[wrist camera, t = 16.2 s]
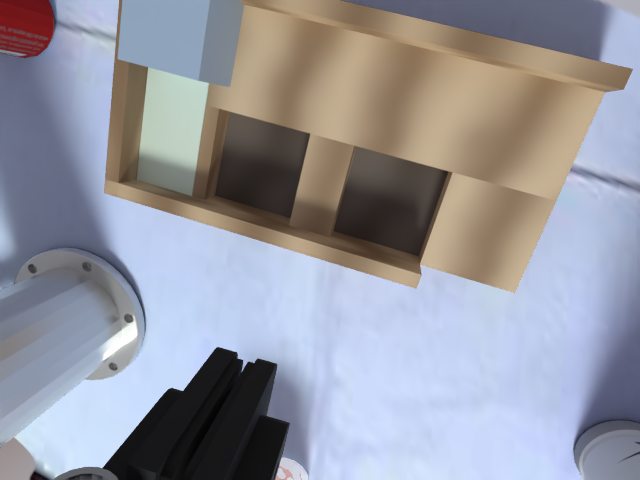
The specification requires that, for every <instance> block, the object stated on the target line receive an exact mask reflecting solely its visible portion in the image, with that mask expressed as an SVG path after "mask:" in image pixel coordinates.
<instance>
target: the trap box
mask: <svg viewBox="0 0 640 480" xmlns="http://www.w3.org/2000/svg"><path fill="white" fill-rule="evenodd" d="M239 1H240V2H241V3H243V4H244V9H243V15H242V21H241V26H240V32H239V38H238V44H237V50H236V56H235V62H234V68H233V74H232V80H231V86H230V88H229V87H225V86H220V85H216V84H211V83H209V85H208V87H209V89H208V94H207V102H206V107H205V108H206V110H205V112H204V115H205V116H204V120H203V121H204V122H203V126H202V127H203V128H202V135H201V138H200V139H201V141H200V146H199V148H200V149H199V153H198V158H197V161H198V162H197V165H196V166H197V167H196V168H197V169H196V172H195V173H196V174H195V175H196V176H195V178H194V180H195V181H194V185H193V187H194V188H193V191H192V194H193V195H192V196H190V195H186V194H183V193H180V192H176V191H173V190H170V189H166V188H163V187H160V186H156V185H153V184H150V183H146V182H143V181H140V180H136V179H137V170H138V160H139V150H140V141H141V131H142V122H143V112H144V102H145V93H146V83H147V74H148V67H145V66H142V65H138V64H134V63H130V62H127V61H123V60H119V59H118V47H119V35H120V23H121V11H122V0H119V11H118V24H117V36H116V49H115V62H114V74H113V87H112V100H111V112H110V125H109V137H108V150H107V163H106V175H105V188H104V193H106V194H109V195H112V196H116V197H119V198H122V199H126V200H129V201H132V202H135V203H139V204H142V205H145V206H148V207H152V208H155V209H158V210H161V211H165V212H168V213H171V214H175V215H178V216H181V217H184V218H188V219H191V220H194V221H197V222H201V223H204V224H207V225H210V226H214V227H217V228H220V229H224V230H227V231H230V232H233V233H237V234H240V235H243V236H246V237H250V238H253V239H256V240H259V241H263V242H266V243H269V244H272V245H276V246H279V247H282V248H286V249H289V250H292V251H295V252H299V253H302V254H305V255H308V256H312V257H315V258H318V259H321V260H325V261H328V262H331V263H335V264H338V265H341V266H344V267H348V268H351V269H354V270H357V271H361V272H364V273H367V274H370V275H374V276H377V277H380V278H384V279H387V280H390V281H393V282H397V283H400V284H403V285H406V286H410V287H413V288H417V286H418V283H419V280H420V277H421V269H420V265H423V266H427V267H430V268H433V269H437V270H440V271H443V272H447V273H450V274H453V275H457V276H460V277H463V278H467V279H470V280H473V281H477V282H480V283H483V284H487V285H490V286H493V287H497V288H500V289H503V290H507V291H510V292H513V293H515V291H516V289H517V287H518V285H519V283H520V280H521V278H522V276H523V274H524V271H525V269H526V267H527V265H528V262H529V260H530V258H531V256H532V254H533V251H534V249H535V247H536V245H537V242H538V240H539V238H540V236H541V234H542V231H543V229H544V227H545V225H546V222H547V220H548V218H549V216H550V214H551V211H552V209H553V207H554V205H555V202H556V200H557V198H558V196H559V193H560V191H561V189H562V187H563V185H564V182H565V180H566V178H567V176H568V173H569V171H570V169H571V167H572V165H573V162H574V160H575V158H576V156H577V153H578V151H579V149H580V147H581V145H582V142H583V140H584V138H585V136H586V133H587V131H588V129H589V127H590V124H591V122H592V120H593V118H594V116H595V113H596V111H597V109H598V107H599V104H600V102H601V100H602V98H603V96H604V93H605V92H610V91H616V90H623V89H624V87H625V85H626V83H627V81H628V79H629V77H630V75H631V72H632V70H633V69H630V68H626V67H622V66H617V65H613V64H609V63H605V62H600V61H596V60H592V59H588V58H583V57H579V56H575V55H571V54H566V53H562V52H558V51H554V50H549V49H545V48H541V47H537V46H533V45H528V44H524V43H520V42H516V41H511V40H507V39H503V38H499V37H494V36H490V35H486V34H482V33H477V32H473V31H469V30H465V29H460V28H456V27H452V26H448V25H443V24H439V23H435V22H431V21H426V20H422V19H418V18H414V17H409V16H405V15H401V14H397V13H392V12H388V11H384V10H380V9H376V8H371V7H367V6H363V5H359V4H354V3H350V2H346V1H342V0H239Z"/></svg>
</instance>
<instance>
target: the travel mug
mask: <svg viewBox="0 0 640 480" xmlns="http://www.w3.org/2000/svg"><path fill="white" fill-rule="evenodd" d="M574 460H575V463H576V466H577V468H578V470H579V472H580V474H581V476H582V478H583V480H640V423H636V422H632V421H625V420H614V421H608V422H603V423H600V424H598V425H595V426H593V427H592V428H590V429H588V430H587V431H586V432H585V433H583V434H582V435H581V437H580V438H579V440H578V441H577V443H576V446H575V449H574Z"/></svg>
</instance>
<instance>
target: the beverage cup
mask: <svg viewBox="0 0 640 480" xmlns="http://www.w3.org/2000/svg"><path fill="white" fill-rule="evenodd" d="M275 480H309V478H308V474H307V472H306V471H305V469H304V468H303V467H302V466H301V465H300V464H298V463H297V462H296V461H294V460H291V459H288V458H281V461H280V465H279V468H278V472H277V476H276V479H275Z"/></svg>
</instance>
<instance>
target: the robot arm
mask: <svg viewBox="0 0 640 480" xmlns="http://www.w3.org/2000/svg"><path fill="white" fill-rule="evenodd" d="M144 334H145V323H144V317H143V312H142V308H141V306H140V303H139V300H138V298H137V296H136V294H135V292H134V291H133V289H132V287H131V286H130V284H129V283H128V282H127V280H126V279H125V278H124V277H123V275H122V274H121V273H120V272H118V271H117V270H116V269H115V268H114V267H113V266H112V265H111V264H109V263H108V262H106V261H105V260H103V259H102V258H100V257H98V256H96V255H94V254H92V253H90V252H88V251H84V250H80V249H76V248H57V249H51V250H48V251H46V252H43V253H40V254H38V255H36V256H34V257H32V258H31V259H29V260H28V261H27V262H26V263H25V264H24V265H23V266H22V267H21V269H20V271H19V272H18V274H17V276H16V279H15V282H14V285H11V286H9V287H6V288H4V289H2V290H0V448H1V447H2V446H3V445H4V444H6V443H7V442H8V441H9V440H11V439H12V438H13V437H14V436H16V435H17V434H18V433H19V432H21V431H22V430H23V429H24V428H25V427H27V426H28V425H29V424H30V423H32V422H33V421H34V420H35V419H36V418H38V417H39V416H40V415H41V414H43V413H44V412H45V411H46V410H48V409H49V408H50V407H51V406H52V405H54V404H55V403H56V402H57V401H59V400H60V399H61V398H62V397H63V396H65V395H66V394H67V393H68V392H70V391H71V390H72V389H73V388H74V387H76V386H77V385H78V384H79V383H81V382H82V381H83V380H84V379H86V380H102V379H106V378H110V377H113V376H115V375H116V374H118V373H120V372H122V371H123V370H124V369H125V368H126V367H127V366H129V365H130V364H131V363H132V362H133V360H134V359H135V358H136V357H137V355H138V353H139V351H140V349H141V347H142V344H143V339H144ZM237 357H238V354H237V352H233V351H230V350H226V349H223V348H219V347H217V348H216V349H215V350H214V351H213V353H212V354H211V355H210V357H209V358H208V359H207V361H206V362H205V363H204V364H203V366H202V367H201V368H200V370H199V371H198V372H197V374H196V375H195V376H194V378H193V379H192V380H191V381H190V383H189V384H188V385H187V387H186V388H185V389H184V391H180V390H177V389H174V388H170V389H168V390H167V391H166V392H165V393H164V394H163V396H162V397H161V398H160V399H159V400H158V402H157V403H156V404H155V405H154V407H153V408H152V409H151V410H150V411H149V413H148V414H147V415H146V416H145V417H144V419H143V420H142V421H141V422H140V423H139V425H138V426H137V427H136V428H135V429H134V431H133V432H132V433H131V434H130V436H129V437H128V438H127V439H126V440H125V442H124V443H123V444H122V445H121V446H120V448H119V449H118V450H117V451H116V452H115V454H114V455H113V456H112V457H111V458H110V460H109V461H108V462H107V463H106V464H105V466H104V467H103V468H99V467H83V468H78V469H73V470H71V471H68V472H66V473H64V474H61V475H59V476H57V477H56V478H55V479H53V480H275V479H276V476H277V472H278V468H279V465H280V461H281V457H282V454H283V450H284V446H285V442H286V438H287V433H288V429H289V424H290V423H288V422H285V421H281V420H278V419H275V418H271V417H268V416H266V415H267V411H268V406H269V402H270V397H271V393H272V388H273V383H274V379H275V374H276V370H277V364H276V363H272V362H269V361H265V360H262V359H257V360H256V361H255V363H251V362H248V363H247V364H246V366H245V368H244V370H243V371H242V366H243V360H241V359H238V358H237ZM241 371H242V373H241Z"/></svg>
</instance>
